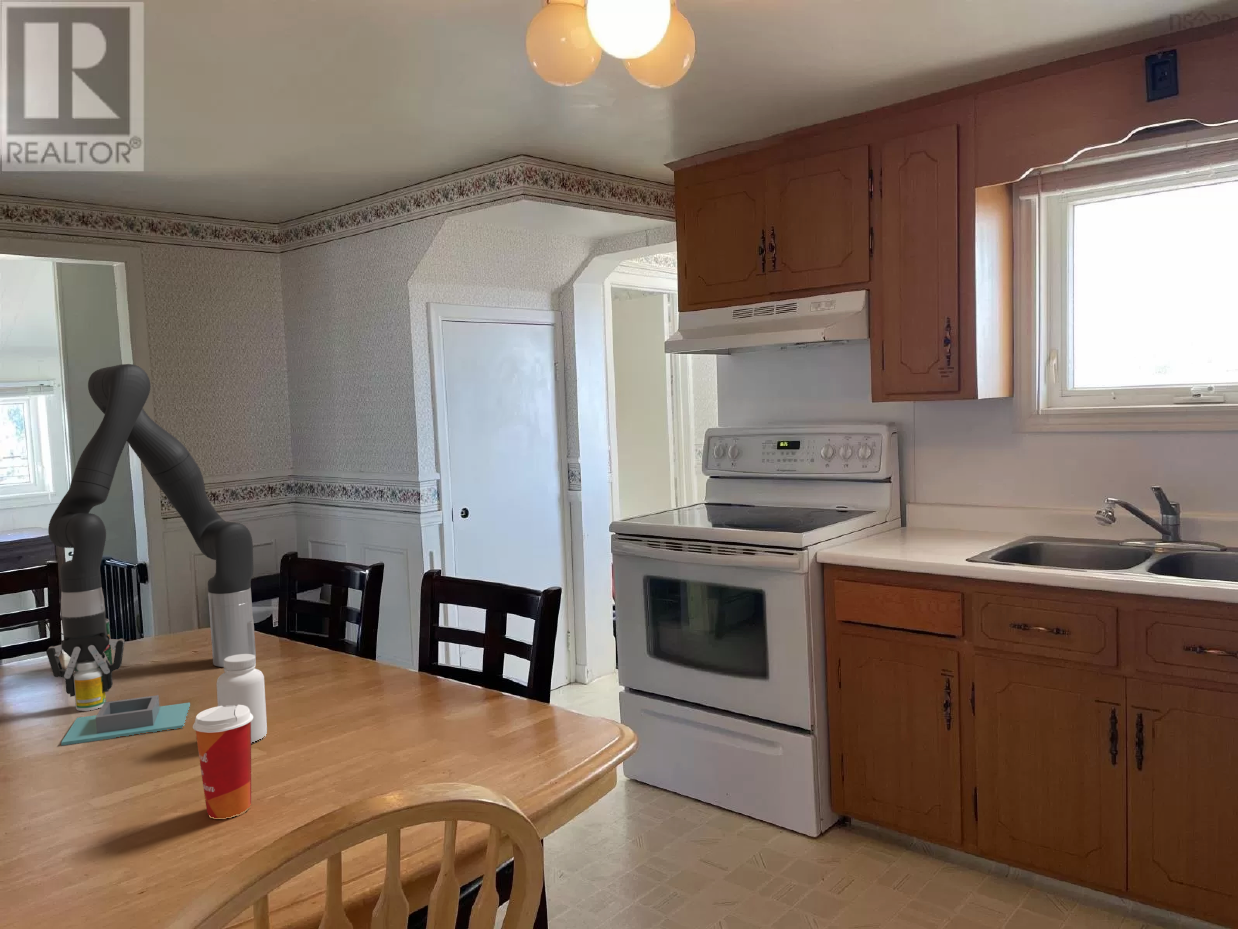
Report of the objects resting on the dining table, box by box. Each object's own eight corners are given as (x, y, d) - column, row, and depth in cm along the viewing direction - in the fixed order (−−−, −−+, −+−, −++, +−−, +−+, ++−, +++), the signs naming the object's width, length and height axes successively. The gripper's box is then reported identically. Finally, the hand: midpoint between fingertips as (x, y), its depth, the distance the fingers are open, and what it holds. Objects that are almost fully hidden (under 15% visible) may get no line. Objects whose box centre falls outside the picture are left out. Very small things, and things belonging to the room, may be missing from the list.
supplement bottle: (73, 707, 186) (70, 661, 185) (103, 701, 189) (100, 655, 189) (78, 713, 182) (74, 666, 181) (108, 707, 185) (105, 661, 185)
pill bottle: (277, 733, 167) (272, 653, 166) (242, 749, 160) (237, 666, 159) (245, 728, 170) (240, 649, 169) (210, 744, 163) (204, 661, 162)
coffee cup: (210, 800, 140) (204, 704, 138) (266, 796, 140) (259, 701, 139) (189, 826, 131) (182, 724, 130) (248, 822, 132) (241, 721, 131)
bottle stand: (190, 705, 185) (188, 688, 184) (183, 728, 172) (182, 709, 171) (77, 720, 178) (76, 702, 178) (61, 745, 165) (59, 726, 164)
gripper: (126, 603, 190) (132, 683, 191) (46, 611, 185) (53, 693, 186) (120, 611, 183) (126, 693, 184) (37, 619, 178) (44, 704, 179)
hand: (90, 692), depth 185 cm, fingers closed on supplement bottle, 5 cm apart
